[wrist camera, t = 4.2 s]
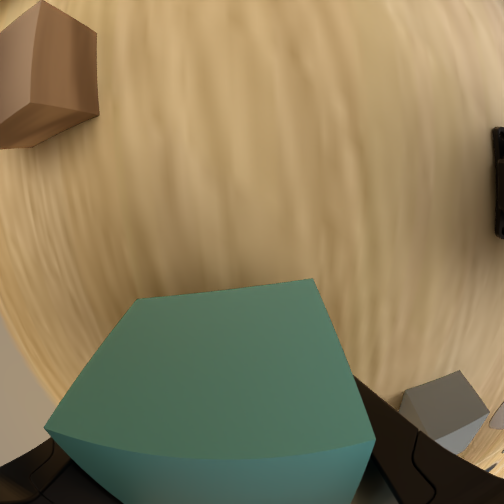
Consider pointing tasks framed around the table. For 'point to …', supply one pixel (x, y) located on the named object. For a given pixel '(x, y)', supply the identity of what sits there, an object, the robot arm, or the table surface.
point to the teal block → (220, 402)
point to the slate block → (446, 411)
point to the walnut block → (45, 76)
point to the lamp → (498, 419)
